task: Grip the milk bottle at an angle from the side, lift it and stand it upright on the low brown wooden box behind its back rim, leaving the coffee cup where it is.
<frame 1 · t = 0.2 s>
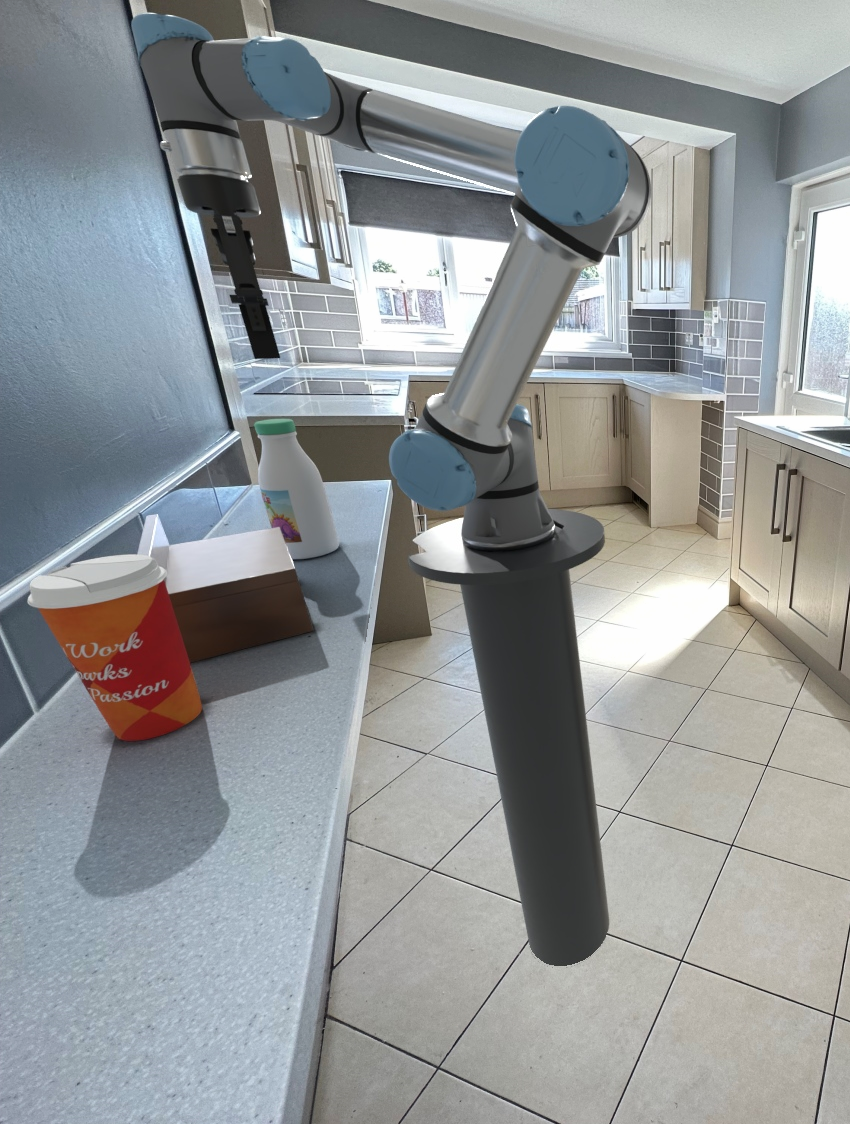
hand: (267, 356, 84), 29 cm above the countertop, tool pointing down, fingers open, 13 cm apart
milk bottle: (311, 552, 94), on the countertop
coffee cup: (162, 721, 56), on the countertop
brown wooden box: (245, 617, 74), on the countertop
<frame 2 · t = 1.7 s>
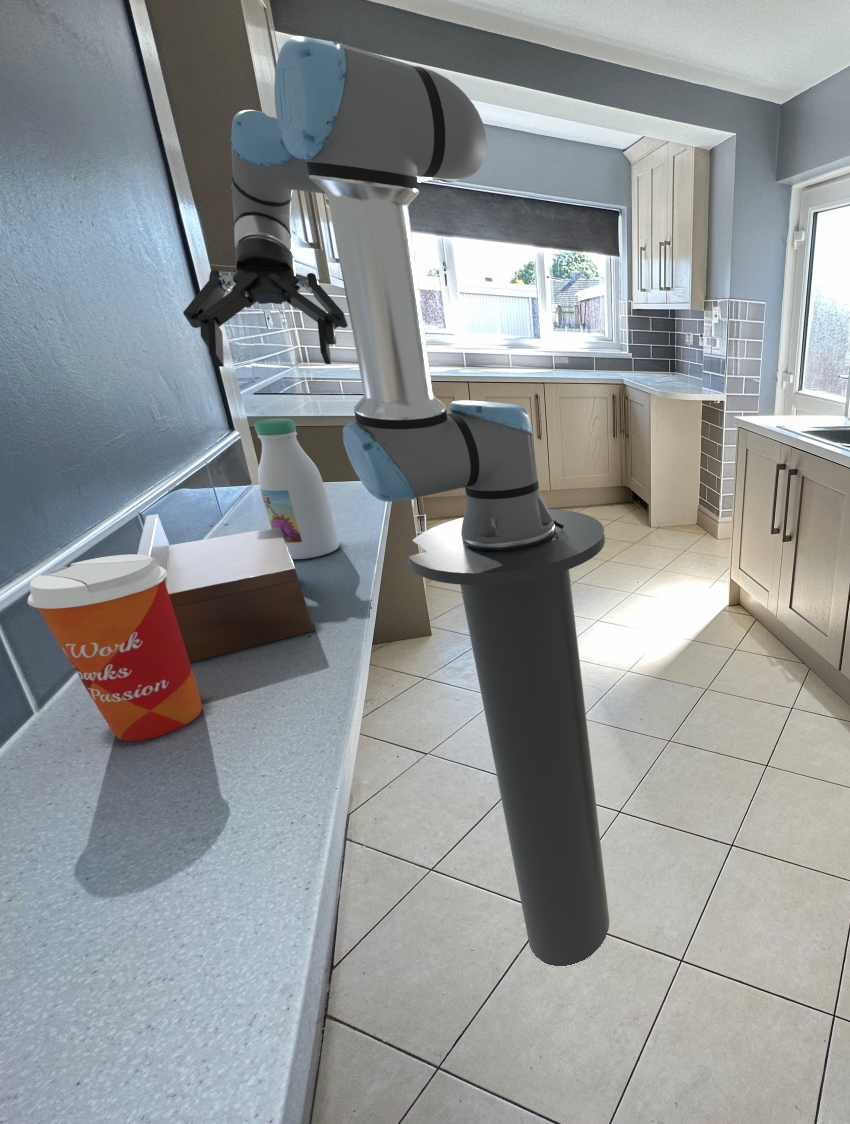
hand: (273, 359, 92), 28 cm above the countertop, tool tilted 45°, fingers open, 13 cm apart
nothing on the countertop moved.
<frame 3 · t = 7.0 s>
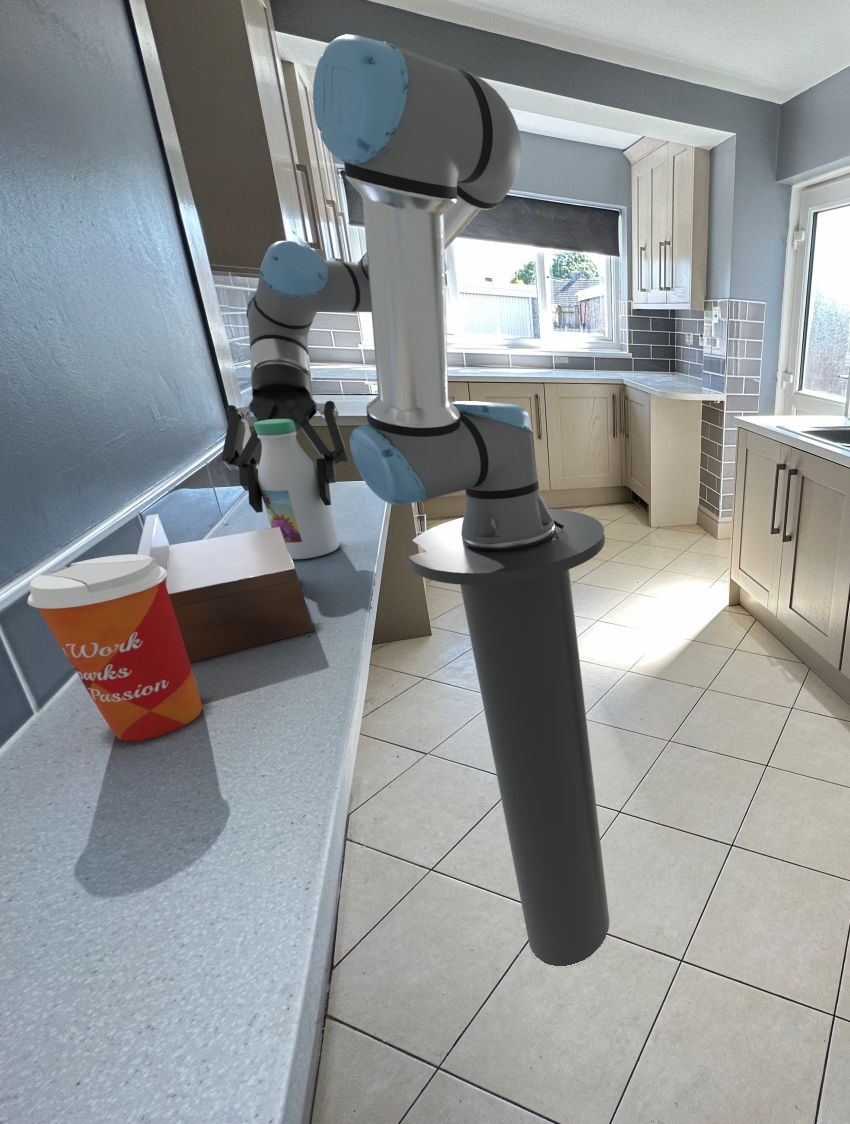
hand: (291, 504, 88), 9 cm above the countertop, tool tilted 45°, fingers closed on milk bottle, 8 cm apart
milk bottle: (311, 552, 94), on the countertop, touching gripper
everything else where it was.
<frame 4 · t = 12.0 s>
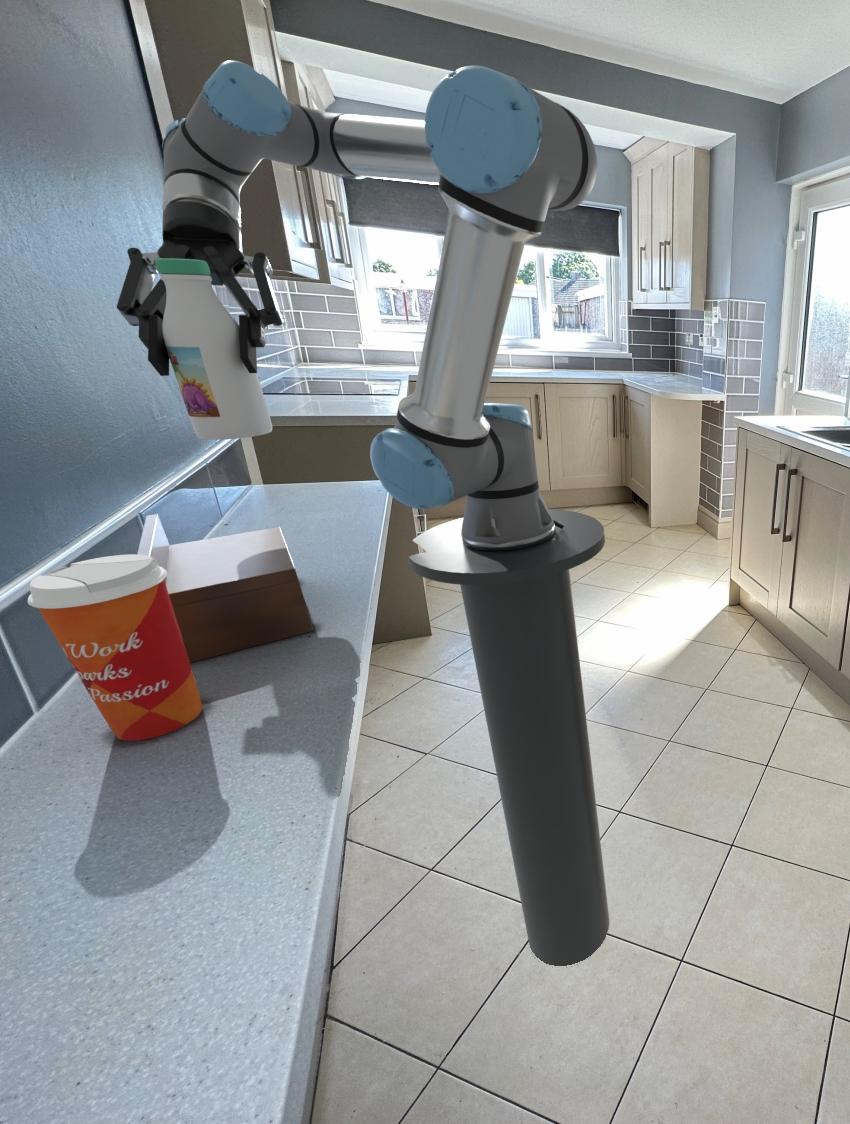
hand: (204, 366, 71), 29 cm above the countertop, tool tilted 45°, fingers closed on milk bottle, 8 cm apart
milk bottle: (237, 436, 77), point 20 cm above the countertop, touching gripper
everything else where it was.
when the fingers open (17 cm above the countertop, at t = 17.2 s): milk bottle stays where it is, resting on brown wooden box.
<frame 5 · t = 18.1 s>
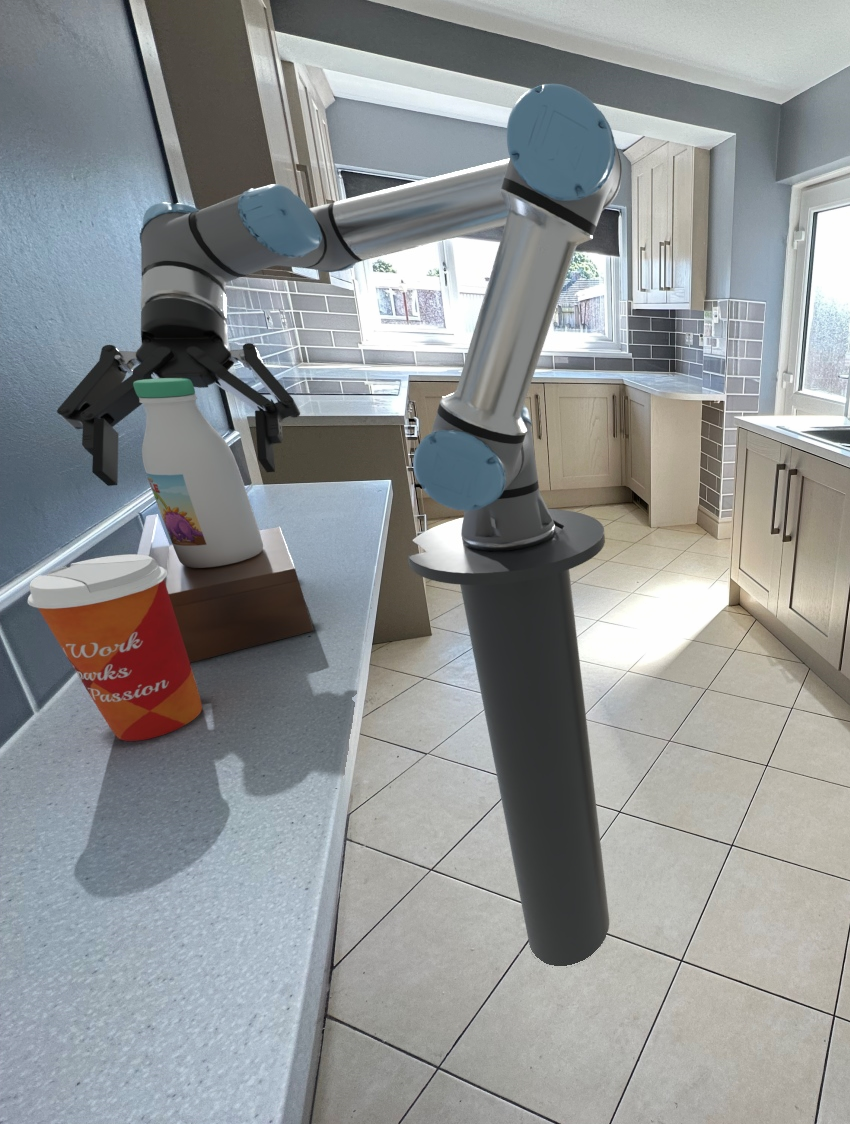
hand: (189, 472, 65), 19 cm above the countertop, tool tilted 45°, fingers open, 13 cm apart
milk bottle: (224, 558, 71), point 8 cm above the countertop, touching brown wooden box
everything else where it was.
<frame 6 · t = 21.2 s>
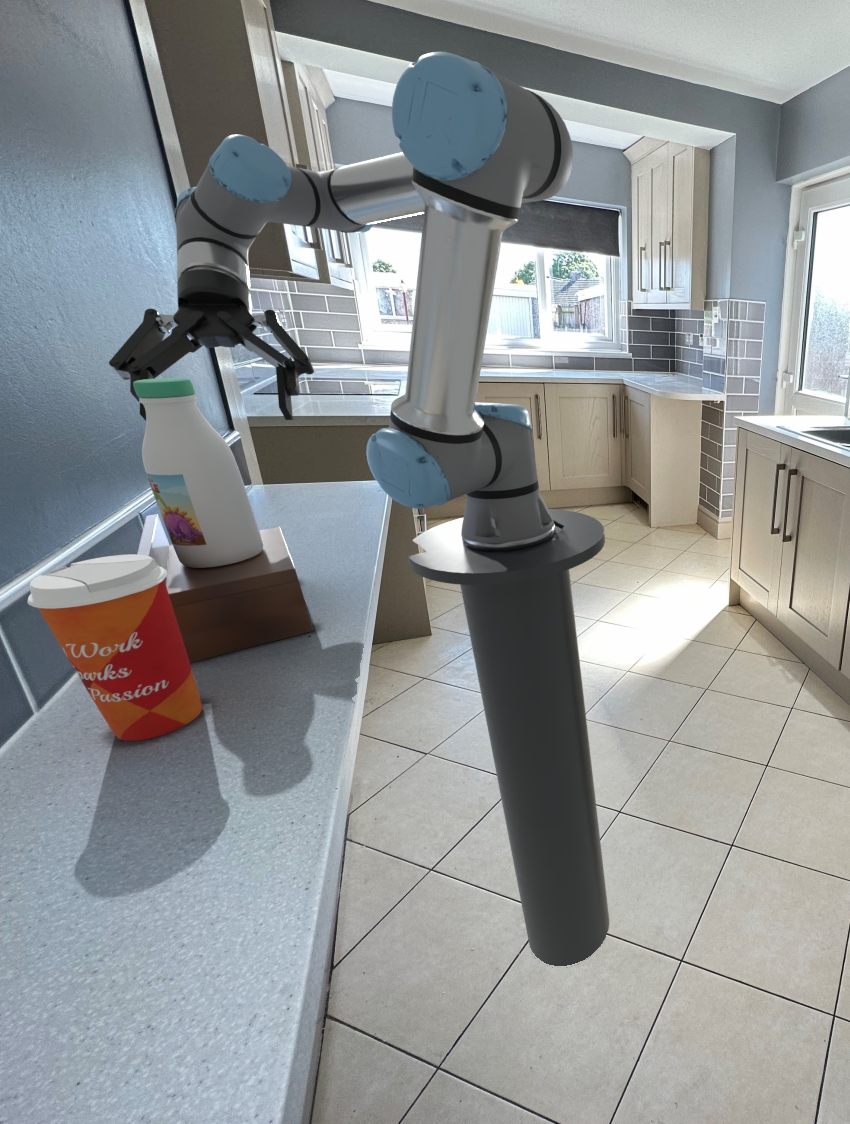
hand: (220, 417, 76), 22 cm above the countertop, tool tilted 45°, fingers open, 13 cm apart
nothing on the countertop moved.
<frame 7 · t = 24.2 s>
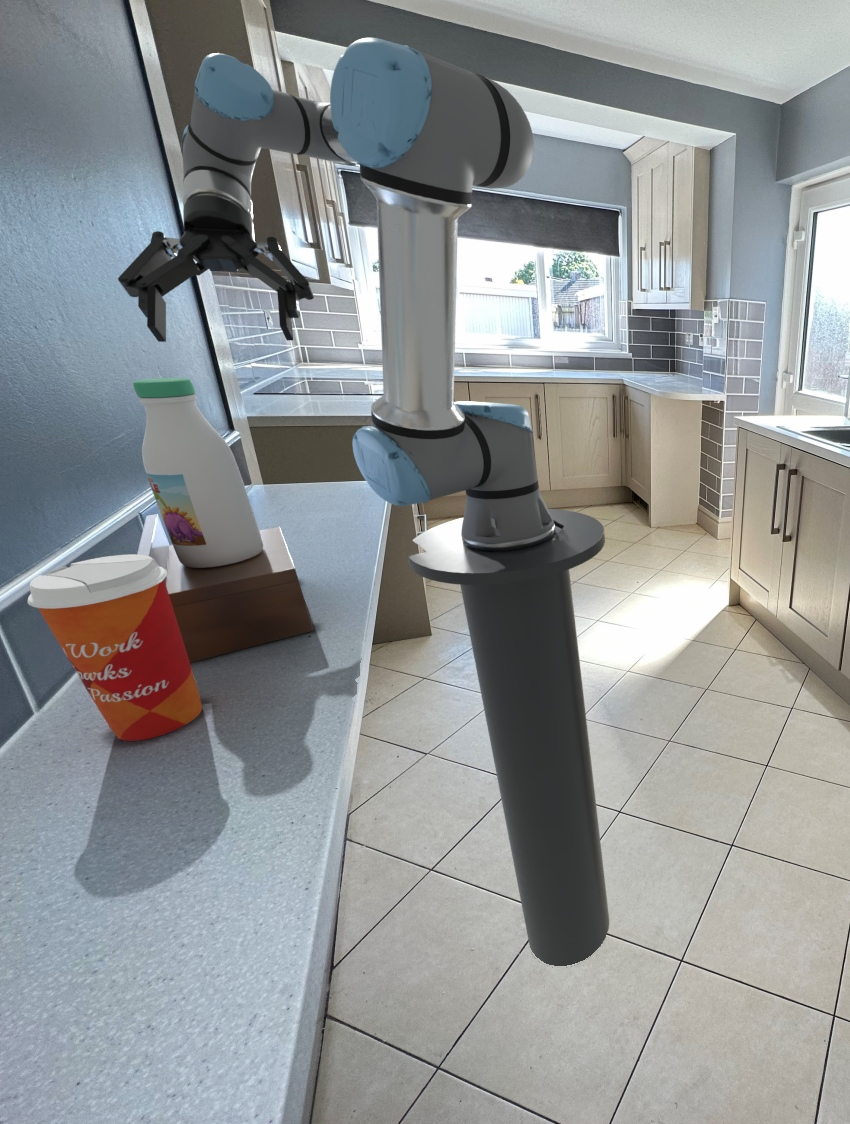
hand: (224, 333, 80), 32 cm above the countertop, tool tilted 45°, fingers open, 13 cm apart
nothing on the countertop moved.
at the end: milk bottle inside the target area on the brown wooden box (0.1 cm from its centre), point 7.8 cm above the brown wooden box's base; milk bottle tilted 0°; coffee cup moved 0.2 cm from its start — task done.
